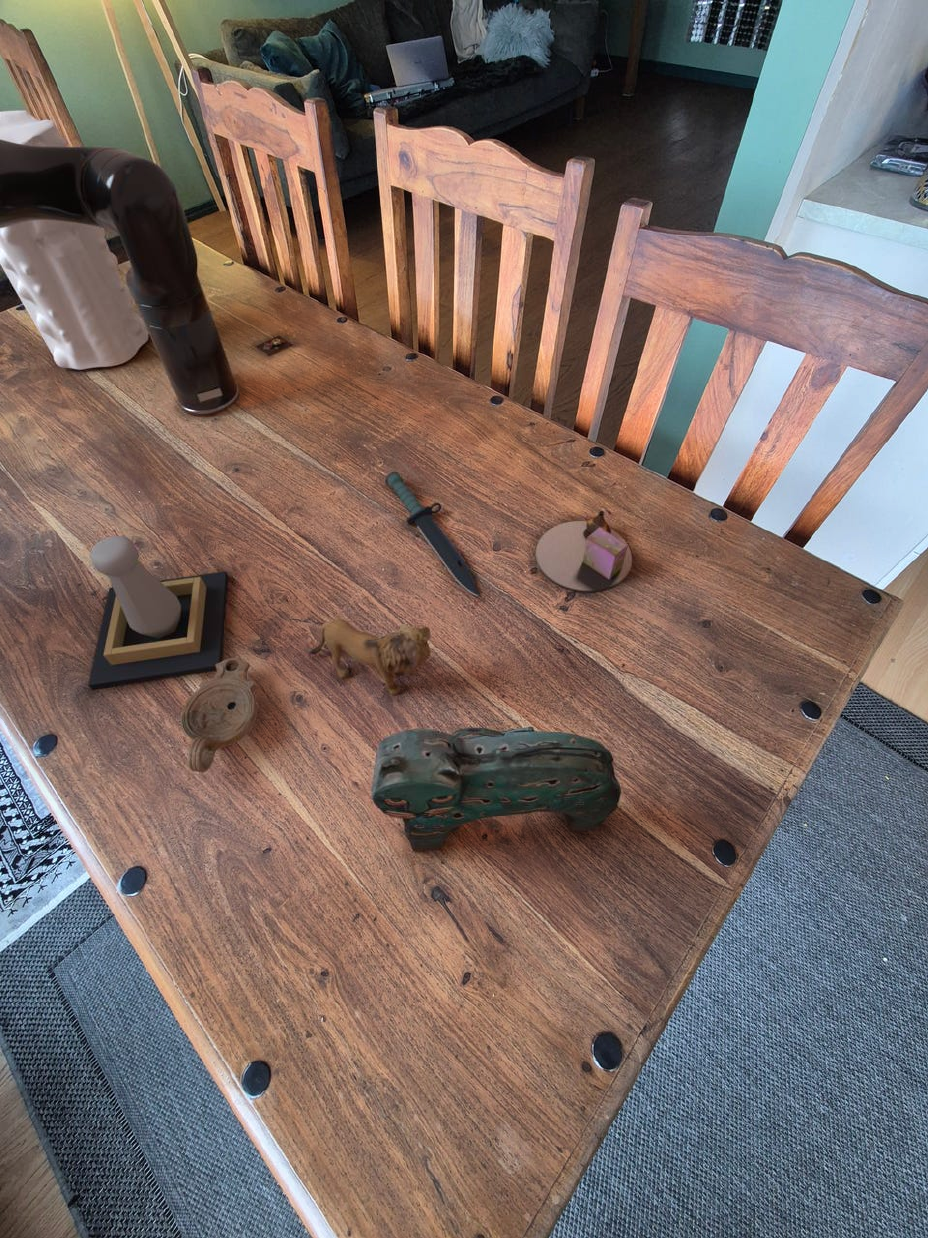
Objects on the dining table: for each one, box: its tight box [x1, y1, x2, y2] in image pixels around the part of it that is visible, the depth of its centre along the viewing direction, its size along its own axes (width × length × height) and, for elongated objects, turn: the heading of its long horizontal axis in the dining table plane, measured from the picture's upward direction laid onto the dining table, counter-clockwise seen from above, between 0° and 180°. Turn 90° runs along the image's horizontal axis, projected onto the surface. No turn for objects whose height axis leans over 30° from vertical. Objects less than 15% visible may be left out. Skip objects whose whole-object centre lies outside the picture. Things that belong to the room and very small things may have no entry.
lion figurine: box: [308, 618, 432, 696], centre depth 67 cm, size 15×5×9 cm, turn 75°
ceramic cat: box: [371, 726, 622, 852], centre depth 52 cm, size 20×6×20 cm, turn 95°
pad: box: [87, 570, 230, 691], centre depth 73 cm, size 14×14×3 cm
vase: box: [0, 109, 149, 371], centre depth 100 cm, size 17×16×32 cm
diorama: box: [254, 335, 294, 357], centre depth 110 cm, size 3×4×2 cm
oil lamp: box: [180, 657, 258, 773], centre depth 65 cm, size 13×8×5 cm, turn 174°
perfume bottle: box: [534, 510, 633, 594], centre depth 78 cm, size 12×12×4 cm
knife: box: [385, 471, 481, 597], centre depth 82 cm, size 23×2×5 cm
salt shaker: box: [89, 535, 181, 639], centre depth 69 cm, size 6×6×13 cm
